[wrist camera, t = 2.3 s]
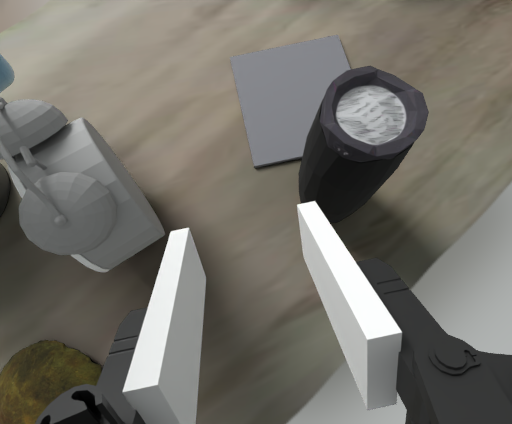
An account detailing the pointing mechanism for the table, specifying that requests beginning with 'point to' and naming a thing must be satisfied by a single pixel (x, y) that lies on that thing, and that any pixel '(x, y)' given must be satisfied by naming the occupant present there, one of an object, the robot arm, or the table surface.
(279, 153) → the rubber mat
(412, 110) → the portable speaker
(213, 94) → the table surface
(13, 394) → the mossy rock
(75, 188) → the alarm clock
